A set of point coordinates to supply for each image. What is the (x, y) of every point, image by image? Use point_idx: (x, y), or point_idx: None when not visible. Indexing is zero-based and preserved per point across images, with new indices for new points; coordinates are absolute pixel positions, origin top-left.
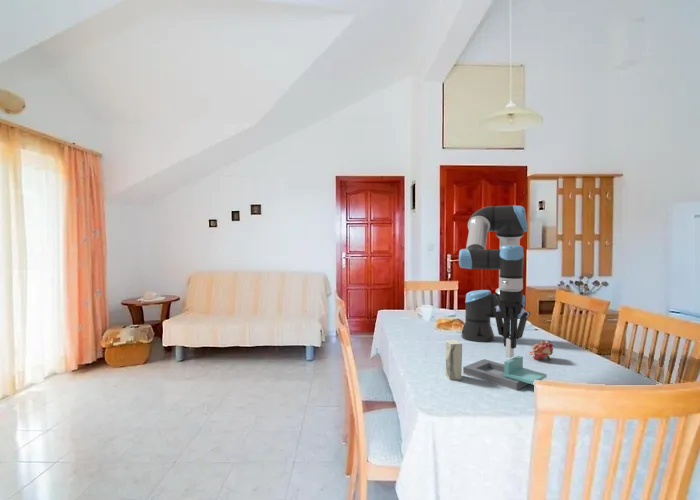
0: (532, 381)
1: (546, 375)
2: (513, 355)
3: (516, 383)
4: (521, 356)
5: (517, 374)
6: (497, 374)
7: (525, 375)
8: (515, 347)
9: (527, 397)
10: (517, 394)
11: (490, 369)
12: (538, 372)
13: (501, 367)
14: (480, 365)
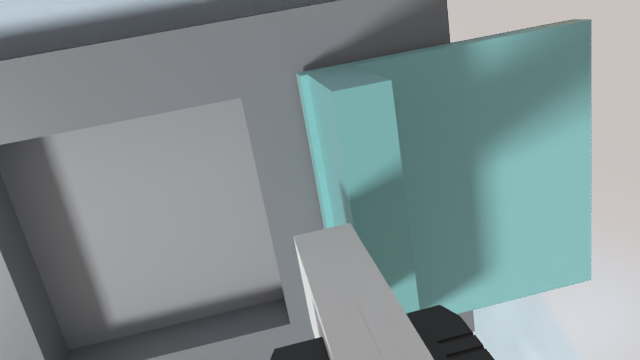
0: (586, 279)
1: (583, 24)
2: (354, 235)
3: (471, 326)
4: (377, 91)
5: (436, 265)
6: (278, 328)
7: (490, 226)
8: (447, 320)
9: (551, 325)
10: (492, 343)
11: (33, 159)
12: (520, 45)
13: (123, 118)
14: (6, 296)
